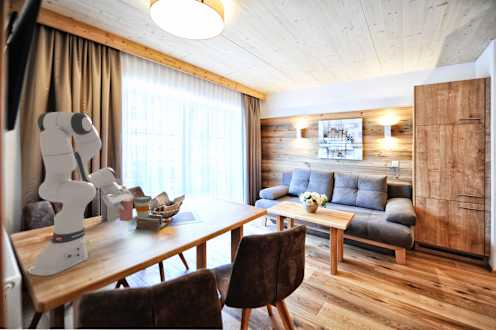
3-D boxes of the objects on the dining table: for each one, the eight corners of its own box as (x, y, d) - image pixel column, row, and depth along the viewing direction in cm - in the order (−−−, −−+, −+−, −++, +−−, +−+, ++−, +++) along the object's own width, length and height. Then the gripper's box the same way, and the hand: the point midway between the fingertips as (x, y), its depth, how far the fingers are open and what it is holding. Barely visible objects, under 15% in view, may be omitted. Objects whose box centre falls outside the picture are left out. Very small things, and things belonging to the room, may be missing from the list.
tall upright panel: (107, 221, 158) (107, 181, 156) (101, 221, 160) (100, 180, 157) (122, 215, 172) (122, 178, 170) (116, 215, 173) (116, 178, 171)
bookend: (161, 224, 153) (161, 215, 153) (148, 222, 155) (148, 214, 154) (162, 223, 154) (162, 215, 154) (149, 222, 156) (149, 214, 156)
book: (128, 221, 136) (128, 201, 135) (119, 220, 137) (119, 200, 136) (132, 219, 140) (132, 199, 139) (124, 218, 141) (124, 199, 140)
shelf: (157, 231, 144) (157, 220, 143) (135, 229, 146) (135, 218, 146) (166, 225, 155) (166, 215, 155) (146, 223, 158) (146, 213, 157)
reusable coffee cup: (144, 212, 183) (144, 195, 182) (155, 215, 177) (155, 197, 176) (131, 216, 172) (130, 198, 170) (141, 219, 166) (141, 200, 165)
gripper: (103, 191, 128) (117, 208, 127) (127, 186, 148) (140, 201, 147) (96, 198, 129) (111, 215, 128) (122, 192, 149) (134, 207, 148)
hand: (127, 207), depth 138 cm, fingers closed on book, 4 cm apart
